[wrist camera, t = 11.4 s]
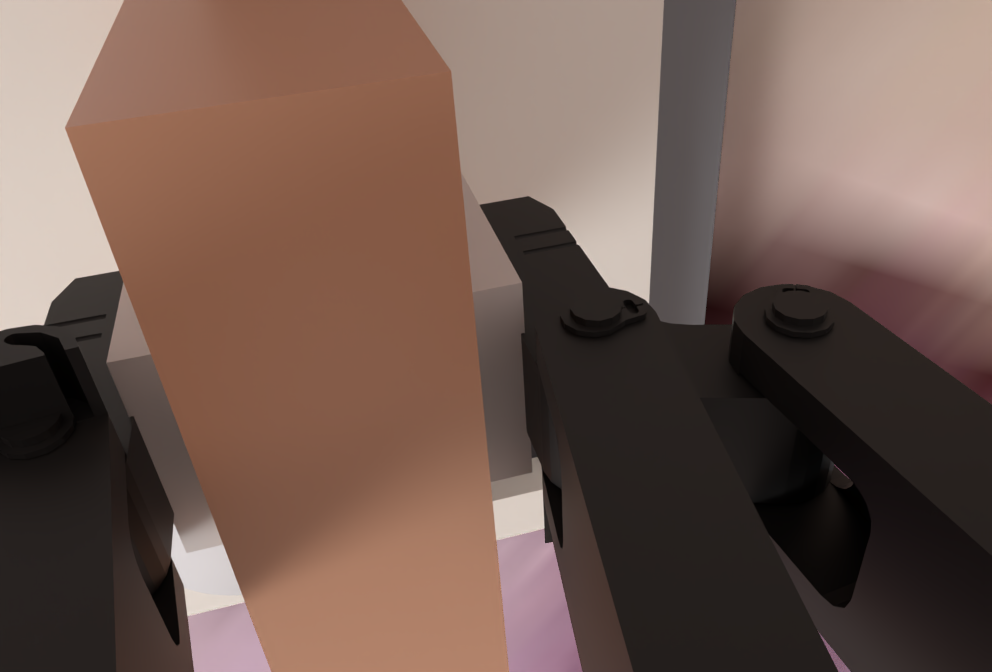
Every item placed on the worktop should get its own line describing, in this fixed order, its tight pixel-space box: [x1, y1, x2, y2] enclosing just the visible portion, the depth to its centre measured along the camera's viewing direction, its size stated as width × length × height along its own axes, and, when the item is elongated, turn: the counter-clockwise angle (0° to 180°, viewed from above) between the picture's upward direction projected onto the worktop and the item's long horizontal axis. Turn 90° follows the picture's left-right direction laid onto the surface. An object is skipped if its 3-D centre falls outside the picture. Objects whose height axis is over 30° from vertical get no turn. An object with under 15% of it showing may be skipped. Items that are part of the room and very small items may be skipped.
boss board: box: [171, 0, 736, 596], centre depth 16 cm, size 22×25×5 cm
